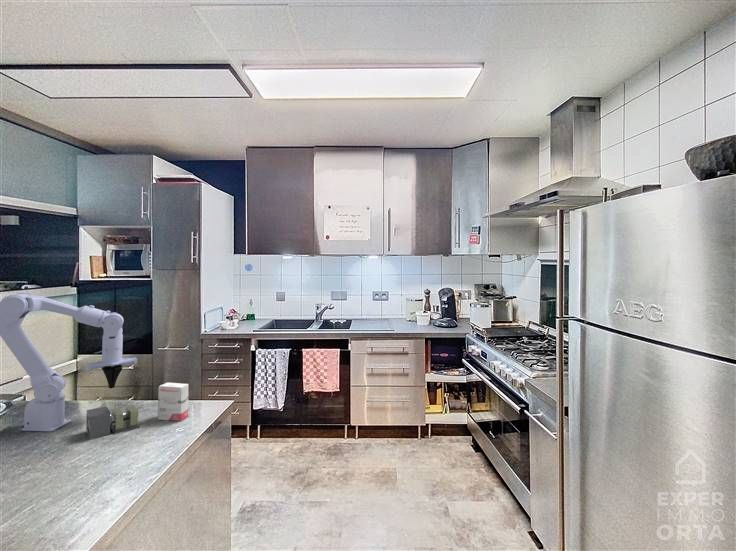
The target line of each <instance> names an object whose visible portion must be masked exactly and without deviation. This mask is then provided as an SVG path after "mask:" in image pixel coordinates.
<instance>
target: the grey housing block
mask: <svg viewBox="0 0 736 551" xmlns="http://www.w3.org/2000/svg"><path fill="white" fill-rule="evenodd" d="M111 415H112V411H110V410H109V408H108V407H107V405H106V406H100V407H96V408H90V409H87V410H86V422H85V423H86V425H85V426H86V427H85V432H86V434H87V436H88V437H89V440H92V439H96V438H99V437H104V436H107V435H111V428H110V416H111ZM88 418H89V420H90V425H89V429H88Z"/></svg>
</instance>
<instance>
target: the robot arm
mask: <svg viewBox="0 0 736 551" xmlns="http://www.w3.org/2000/svg"><path fill="white" fill-rule="evenodd" d="M40 311H47V312H51V313H56V314H61V315H65V316H69V317H72V318H74V319H75V321H76V322H77V323H80V324H84V325H87V326H92V327H96V328H102V329H103V334H102V346H101V347H102V348H101V349H102V350H101V351H102V352H101V360H99V361H96V362H95V361H94V362H90V363H89V362H88V363H85V364H84V370H85V371H93V370H97V369H98V370H100V369H101V370H102V372H103V374H104V376H105V378H106V381H107V385H108V386H107V387H108V389H115V388H116V387H115V386H116V383H117V381H118V380H117V379H118V377H119V375H120V374H121V372H122V370H123V366H125V365H126V366H127V365H136V364H138V358H137V357H127V358H126V357H125V358H124V357H123V348H124V347H123V343H124V342H123V341H124V335H123V326H124V325H123V324H124V320H125V319H124V317H123V316H122V315H121V314H119V313H118V312H115V311H114V312H112V311H111V310H107V309H106V310H102V309H99V308H95V305H93V304H92V305H91V304H90V305H83V306H81V307H78V306H74V305H71V304H68V303H64V302H62V301H58V300H55V299H52V298H50V297H49V298H48V297H46V296H42V295H37V294H30V293H28V292H20V293H16V294H11V295H7V296H5V297H4V298H2V299H1V300H0V338H1V339H2V340H3V342H4V343H5V344H6V346H7V347H8V349H9V350H10V352H11V353H12V354H13V356H14V357H15V358H16V360H17V361H18V362H19V364H20V366H21V367H22V368H23V370H24V371H25V373H27V375H28V377H29V379H30V385H31V387H32V389H33V396H34V398H32V399H31V400H29V401H28V402H27V403H26V405H25V407H24V414H23V416H24V419H23V420H24V421H23V428H21V431H23V432H25V431H26V432H29V431H30V432H53V431H56V430H58V429H59V428H61V427H63V426H65V425H66V424H69V423H70V422H72V419H66V418H65V412H66V411H65V410H66V408H65V407H66V406H65V404H66V403H65V402H66V394H65V393H64V392H63V390H64V389H65V387H66V385H67V379H66V378H65V377H64V376H63V375H60V374H59V373H57V372H56V371H55V369H53V368H51V367H50V366H49V364H48V363H47V361H46V360H45V359H44V357H43V356H42V354H41V353H40V352H39V350H38V348H36V346H35V344H34V343H33V342H32V340H31V339H30V337H29V336H28V334H26V332H25V330H24V329H23V327H22V326H21V324H22V323H23V321H24V319H25V318H26V316H27V315H28V314H29V313H31V312H32V313H33V312H40Z"/></svg>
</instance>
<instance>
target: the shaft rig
mask: <svg viewBox="0 0 736 551" xmlns="http://www.w3.org/2000/svg"><path fill="white" fill-rule="evenodd" d="M138 410H139V409H137V408H136V407H135V405H133V404H131V405H126V406H125V411H122V410H121V409H120V408H119V407H118V408H113V409H111V416H110V431H111V432H113V434H114V435H117V434H120V432H121V433H124V432H128V430H129V431H132V430H136V428H137V429H140V428H141V425H140V423H138V420H139V411H138ZM89 425H90V420H89V418H88V429H89ZM116 433H117V434H116Z"/></svg>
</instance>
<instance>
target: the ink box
mask: <svg viewBox="0 0 736 551" xmlns="http://www.w3.org/2000/svg"><path fill="white" fill-rule="evenodd" d="M157 393H158V394H157V395H158V396H157V397H158V398H157V420H158V421H159V420H161V421H172V422H182V421H184V420H185V419H186V418H187V417H188V416H189V383H181V382H179V383H178V382H165V383H163V384H160V385H159V386H158V392H157Z"/></svg>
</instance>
